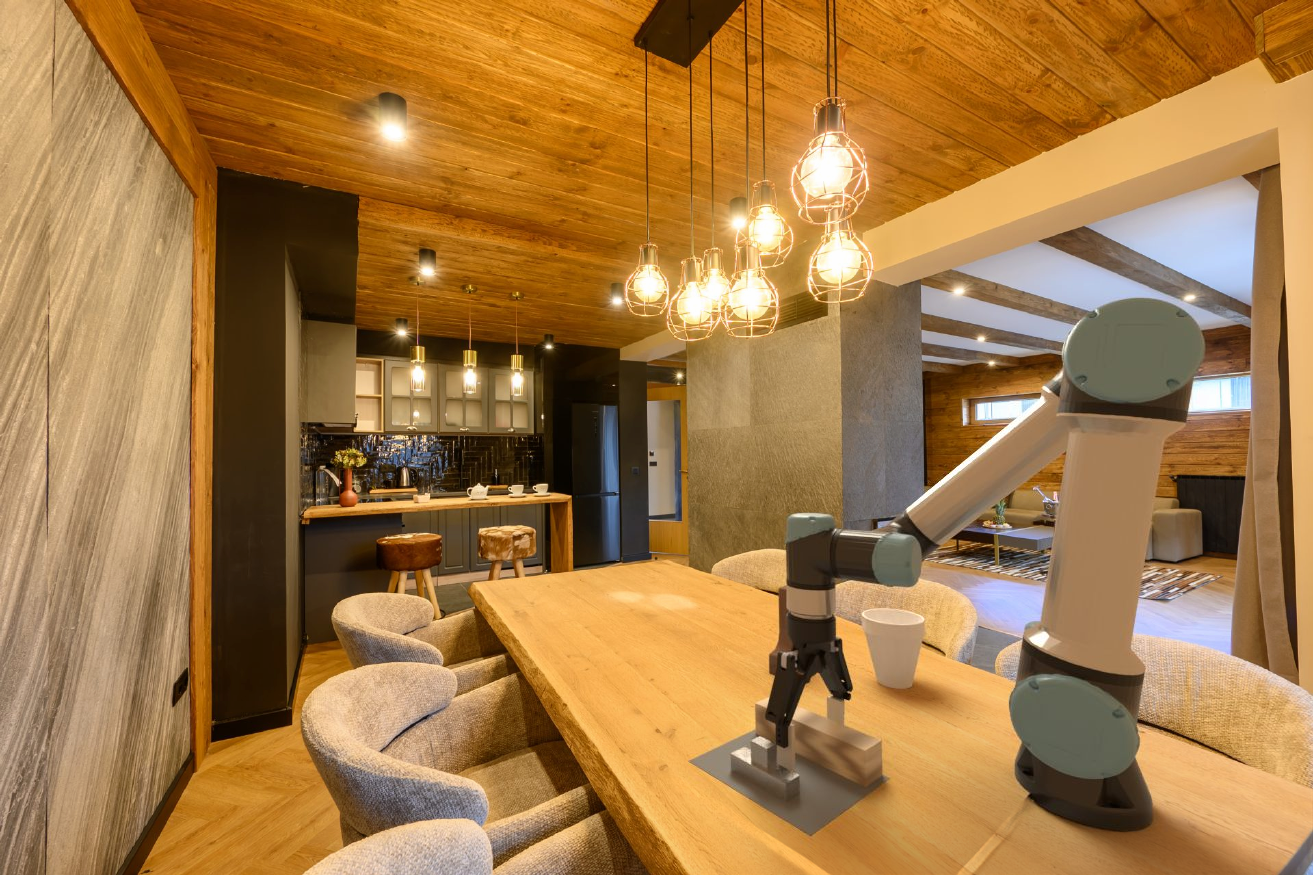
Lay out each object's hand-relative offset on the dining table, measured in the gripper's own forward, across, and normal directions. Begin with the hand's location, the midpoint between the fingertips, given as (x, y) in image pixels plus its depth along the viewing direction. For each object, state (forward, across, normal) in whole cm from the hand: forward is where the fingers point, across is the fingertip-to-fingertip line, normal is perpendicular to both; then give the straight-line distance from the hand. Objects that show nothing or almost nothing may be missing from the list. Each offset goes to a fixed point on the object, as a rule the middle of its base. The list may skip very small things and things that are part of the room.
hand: (812, 752), depth 87 cm
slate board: (+1, +7, 0) cm, 7 cm away
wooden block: (+1, -26, -25) cm, 36 cm away
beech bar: (0, 0, 0) cm, 0 cm away
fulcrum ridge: (+1, +12, 0) cm, 12 cm away
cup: (+1, -38, -7) cm, 39 cm away
